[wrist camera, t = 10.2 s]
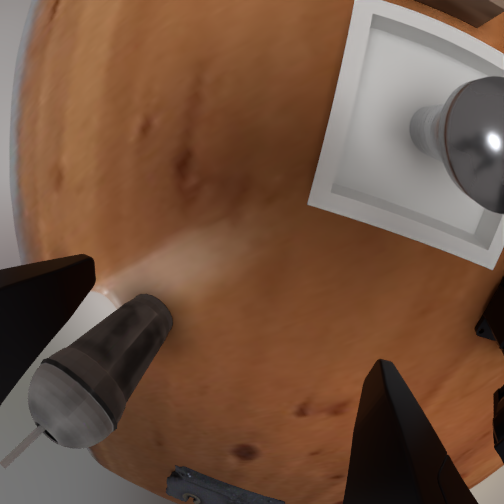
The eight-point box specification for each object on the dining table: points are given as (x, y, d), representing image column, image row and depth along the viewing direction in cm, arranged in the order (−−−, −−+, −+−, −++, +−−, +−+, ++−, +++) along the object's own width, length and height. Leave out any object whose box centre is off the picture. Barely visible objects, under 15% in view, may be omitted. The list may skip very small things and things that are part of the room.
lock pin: (472, 111, 13) (562, 116, 5) (454, 178, 15) (530, 232, 7) (407, 83, 14) (463, 52, 6) (389, 153, 16) (431, 185, 8)
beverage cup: (192, 350, 28) (75, 525, 11) (132, 337, 30) (13, 475, 13) (177, 284, 25) (7, 474, 8) (113, 277, 27) (-43, 415, 10)
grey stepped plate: (268, 515, 47) (262, 533, 43) (171, 481, 50) (162, 497, 46) (292, 500, 40) (286, 522, 36) (173, 458, 43) (162, 479, 39)
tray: (520, 86, 12) (547, 84, 9) (474, 247, 17) (492, 270, 14) (354, 13, 14) (355, -7, 11) (313, 190, 19) (307, 204, 16)
